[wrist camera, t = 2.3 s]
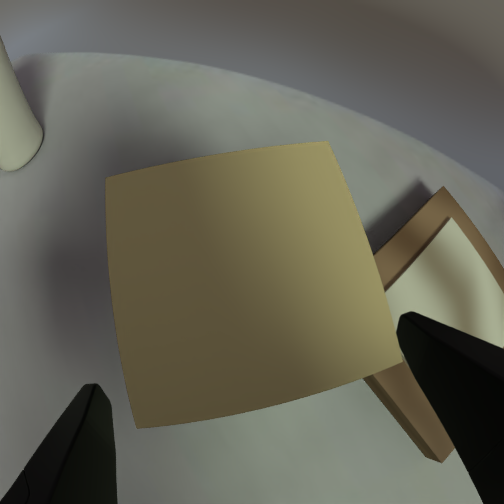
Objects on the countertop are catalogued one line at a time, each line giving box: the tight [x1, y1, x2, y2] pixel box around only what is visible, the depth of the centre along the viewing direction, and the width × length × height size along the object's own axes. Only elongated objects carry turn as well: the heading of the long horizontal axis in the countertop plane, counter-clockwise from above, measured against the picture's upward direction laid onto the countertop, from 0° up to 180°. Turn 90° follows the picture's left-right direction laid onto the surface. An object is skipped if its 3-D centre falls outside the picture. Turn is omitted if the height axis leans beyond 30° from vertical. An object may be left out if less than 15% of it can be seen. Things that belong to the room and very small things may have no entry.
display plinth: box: [363, 186, 504, 463], centre depth 17 cm, size 14×14×2 cm
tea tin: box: [105, 141, 403, 429], centre depth 12 cm, size 5×5×12 cm
